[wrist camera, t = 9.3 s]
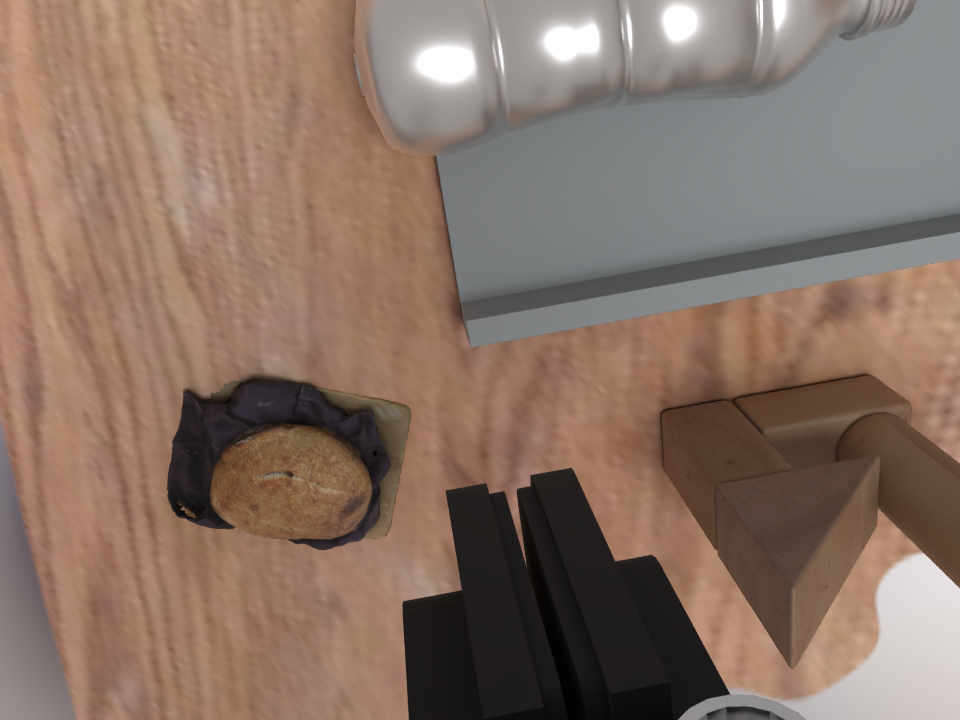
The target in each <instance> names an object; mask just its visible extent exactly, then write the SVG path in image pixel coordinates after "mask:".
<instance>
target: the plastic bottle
mask: <svg viewBox="0 0 960 720" xmlns="http://www.w3.org/2000/svg"><path fill="white" fill-rule="evenodd" d="M916 1H917V0H356V13H355V31H354V46H355V51H356V53H354V54H353V57H354V63H355V68H356V73H357V77H358V82H359V86H360V90H361V94H362V96H365V98H366V102H367V105H368V108H369V110H370V112H371V113H372V115H373V117H374V119H375V121H376V123H377V125H378V127H379V129H380V131H381V133H382V135H383V136H384V138H385V140H386V142H387V144H388V146H389V148H391V149H393V150H396V151H398V152H401V153H403V154H406V155H408V156H411V157H412V156H448V155H451V154H455V153H458V152H461V151H464V150H467V149H470V148H473V147H476V146H479V145H482V144H484V143H487V142H489V141H492V140H494V139H496V138H499V137H501V133H504V132H506V131H508V132H512V131H516V130H520V129H523V128H527V127H531V126H534V125H538V124H542V123H545V122H549V121H553V120H556V119H560V118H564V117H567V116H571V115H575V114H578V113H582V112H586V111H591V110H599V109H607V108H613V107H616V106H617V105H620V104H624V105H626V106H630V105H637V104H645V103H652V102H660V101H674V100H702V99H730V98H735V97H736V98H746V97H754V96H763V95H767V94H769V93H771V92H773V91H775V90H777V89H779V88H781V87H783V86H785V85H787V84H789V83H791V82H792V81H793V80H795V79H796V78H797V77H798V76H799V75H800V74H801V73H802V72H803V71H804V70H805V69H807V68H808V67H809V66H810V65H811V64H812V63H813V62H814V61H815V60H816V59H817V58H818V57H819V56H820V55H821V54H822V52H823V51H824V50H825V49H826V48H827V47H828V46H829V44H830V43H831V42H832V41H833V40H834V39H835V38H836V36H837V35H838V36H839V37H840V38H842V39H843V40H848V41H850V40H855V39H859V38H863V37H865V36H867V35H868V34H869V33H874V32H879V31H883V30H888V29H892V28H895V27H897V26H900V25H901V24H903V23H904V22H905V21H906V20H907V19H908V17H909V16H910V14H911V13H912V11H913V9H914V6H915V4H916Z"/></svg>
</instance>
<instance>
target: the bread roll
mask: <svg viewBox="0 0 960 720" xmlns="http://www.w3.org/2000/svg"><path fill="white" fill-rule="evenodd" d="M213 395H214V396H213ZM183 396H184V397H183V406H182V412H181V416H182V417H181V420H180V425H179V429H178V431H177V433H176V436H175V438H174V440H173V442H172V443H173V448H172V450H173V451H172V458H171V463H170V467H169V473H168V486H167V487H168V488H167V490H168V500H169V502H170V504H171V507H172V510H173V511H174V512H175V513H176V515H177V516H178V517H179V518H184V519H187V520H189V521H191V522H193V523H195V524H198V525H201V526H205V527H209V528H214V529H233V528H239V529H241V530H243V531H245V532H248V533H251V534H254V535H259V536H262V537H267V538H272V539H285V540H286V539H287V540H289V541H291V542H294V543H295V544H307V545H309V546H311V547H313V548H315V549H318V550H326V549H332V548H334V547H337V546H342V545H345V544H347V543H349V542H357V541H360V540H362V539H363V538H364V537H365V538H370V539H379V538H381V537H384V536H386V535H387V534H388V532H389V530H390V527H391V522H392V513H393V508H394V504H395V499H396V494H397V489H398V484H399V478H400V473H401V467H402V463H403V456H404V451H405V445H406V441H407V436H408V430H409V424H410V419H411V411H410V409H409V408H408V407H407V406H406V405H403V404H400V403H395V402H391V401H387V400H383V399H378V398H371V397H366V396H361V395H357V394H350V393H345V392H340V391H335V390H328V389H322V388H315V387H310V386H308V385H305V384H295V383H291V382H274V381H271V382H270V381H262V380H259V379H254V378H253V379H252V380H247V381H232V382H230V383H229V384H224V387H223V388H222V389H221V390H220V392H217V393H215V394H214V393H211V397H212V399H198V398H197V397H195V395H194V394H191V392H189V391H186V390H184V391H183ZM204 403H207V404H204ZM177 501H178V503H181V504H182V505H183V506H184V508H185V509H186V510H187V511H188V513H185V510H180V509H182V507H183V506H180V505H179V504H178V503H177Z"/></svg>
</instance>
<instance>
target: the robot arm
mask: <svg viewBox="0 0 960 720" xmlns="http://www.w3.org/2000/svg"><path fill="white" fill-rule="evenodd" d="M530 479H531V486H530V487H525V488H519V489H517V498H518V506H519V513H520V521H521V528H522V535H523V543H524V550H525V557H526V563H525V560H524V557H523V553H522V550H521V546H520V543H519V539H518V536H517V533H516V529H515V526H514V522H513V519H512V515H511V512H510V508H509V505H508V502H507V498H506V495H505V492H504V491H503V492H497V493H492V494H489V491H488V487H487V484H486V483H485V484H479V485H474V486H468V487H463V488H457V489H452V490H446V496H447V502H448V508H449V514H450V520H451V526H452V532H453V538H454V544H455V550H456V556H457V562H458V568H459V574H460V580H461V586H462V590H461V591H456V592H451V593H445V594H440V595H435V596H429V597H424V598H419V599H413V600H408V601H403V626H404V643H405V660H406V677H407V694H408V711H409V720H805V718H804V717H802V716H801V715H800V714H799V713H798V712H795V711H794V710H792V709H790V708H788V707H786V706H784V705H782V704H780V703H778V702H776V701H772V700H768V699H765V698H761V697H757V696H752V695H730V693H729V691H728V689H727V688H726V686H725V684H724V682H723V680H722V678H721V676H720V675H719V673H718V671H717V669H716V667H715V665H714V663H713V662H712V660H711V658H710V656H709V654H708V652H707V650H706V649H705V647H704V645H703V643H702V641H701V639H700V637H699V636H698V634H697V632H696V630H695V628H694V626H693V624H692V623H691V621H690V619H689V617H688V615H687V613H686V611H685V610H684V608H683V606H682V604H681V602H680V600H679V598H678V597H677V595H676V593H675V591H674V589H673V587H672V585H671V584H670V582H669V580H668V578H667V576H666V574H665V572H664V571H663V569H662V567H661V565H660V563H659V562H658V560H657V559H656V557H654V556H652V555H648V556H643V557H637V558H632V559H627V560H621V561H616V562H615V560H614V558H613V555H612V553H611V551H610V549H609V547H608V545H607V542H606V540H605V538H604V536H603V534H602V531H601V529H600V527H599V525H598V523H597V521H596V518H595V516H594V514H593V512H592V510H591V507H590V505H589V503H588V501H587V499H586V497H585V494H584V492H583V490H582V488H581V486H580V483H579V481H578V479H577V477H576V475H575V473H574V471H573V469H572V468H568V469H563V470H557V471H552V472H546V473H541V474H535V475H531V478H530ZM526 564H527V567H526Z"/></svg>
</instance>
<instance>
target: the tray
mask: <svg viewBox="0 0 960 720" xmlns="http://www.w3.org/2000/svg"><path fill="white" fill-rule="evenodd" d="M436 160H437V166H438V172H439V178H440V184H441V191H442V197H443V203H444V209H445V215H446V221H447V227H448V233H449V239H450V245H451V251H452V257H453V263H454V269H455V275H456V281H457V287H458V293H459V299H460V305H461V311H462V317H463V323H464V327H465V330H466V334H467V337H468V340H469V344H470V347H471V348H472V347H478V346H483V345H489V344H494V343H500V342H505V341H511V340H516V339H522V338H527V337H533V336H538V335H544V334H549V333H555V332H560V331H565V330H571V329H576V328H582V327H587V326H593V325H598V324H604V323H609V322H615V321H620V320H626V319H631V318H637V317H642V316H648V315H653V314H659V313H664V312H670V311H675V310H681V309H686V308H692V307H697V306H703V305H708V304H714V303H719V302H724V301H730V300H735V299H741V298H746V297H752V296H757V295H763V294H768V293H774V292H779V291H785V290H790V289H796V288H801V287H807V286H812V285H818V284H823V283H829V282H834V281H840V280H845V279H851V278H856V277H862V276H867V275H872V274H878V273H883V272H889V271H894V270H900V269H905V268H911V267H916V266H922V265H927V264H933V263H938V262H944V261H949V260H955V259H960V0H917V1H916V4H915V6H914V9H913V11H912V13H911V14H910V16H909V17H908V19H907V20H906V21H905V22H904V23H903V24H901V25H900V26H897V27H895V28H892V29H888V30H883V31H879V32H874V33H869V34H868V35H867V36H865V37H863V38H859V39H855V40H850V41H848V40H843V39H842V38H840V37H839V36H838V35H837V36H836V38H835V39H834V40H833V41H832V42H831V43H830V44H829V46H828V47H827V48H826V49H825V50H824V51H823V52H822V54H821V55H820V56H819V57H818V58H817V59H816V60H815V61H814V62H813V63H812V64H811V65H810V66H809V67H808V68H807V69H805V70H804V71H803V72H802V73H801V74H800V75H799V76H798V77H797V78H796V79H795V80H793V81H792V82H791V83H789V84H787V85H785V86H783V87H781V88H779V89H777V90H775V91H773V92H771V93H769V94H767V95H763V96H754V97H746V98H736V97H735V98H730V99H702V100H674V101H660V102H652V103H645V104H637V105H630V106H626V105H624V104H620V105H617V106H616V107H613V108H607V109H599V110H591V111H586V112H582V113H578V114H575V115H571V116H567V117H564V118H560V119H556V120H553V121H549V122H545V123H542V124H538V125H534V126H531V127H527V128H523V129H520V130H516V131H512V132H508V131H506V132H504V133H501V137H499V138H496V139H494V140H492V141H489V142H487V143H484V144H482V145H479V146H476V147H473V148H470V149H467V150H464V151H461V152H458V153H455V154H451V155H448V156H436Z"/></svg>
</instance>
